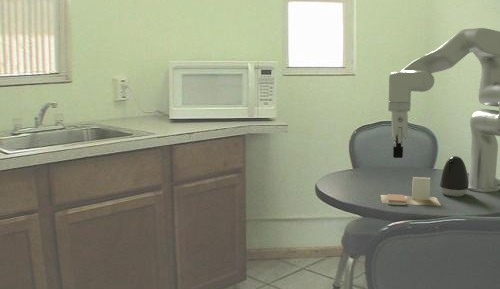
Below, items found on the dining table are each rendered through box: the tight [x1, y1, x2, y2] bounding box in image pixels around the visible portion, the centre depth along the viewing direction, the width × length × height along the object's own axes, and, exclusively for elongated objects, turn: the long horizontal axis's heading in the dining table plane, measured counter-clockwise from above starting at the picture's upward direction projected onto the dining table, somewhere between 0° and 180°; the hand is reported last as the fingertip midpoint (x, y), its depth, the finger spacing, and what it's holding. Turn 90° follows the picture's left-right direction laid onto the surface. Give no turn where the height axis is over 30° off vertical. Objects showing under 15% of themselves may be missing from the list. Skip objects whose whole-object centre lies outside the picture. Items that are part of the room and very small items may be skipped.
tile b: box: [386, 193, 407, 206], centre depth 181 cm, size 6×2×8 cm
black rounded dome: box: [438, 155, 469, 198], centre depth 190 cm, size 10×10×15 cm
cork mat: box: [380, 194, 442, 207], centre depth 183 cm, size 20×11×1 cm, turn 78°
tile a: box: [411, 176, 432, 200], centre depth 184 cm, size 6×2×8 cm, turn 78°
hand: (397, 157), depth 182 cm, fingers closed
